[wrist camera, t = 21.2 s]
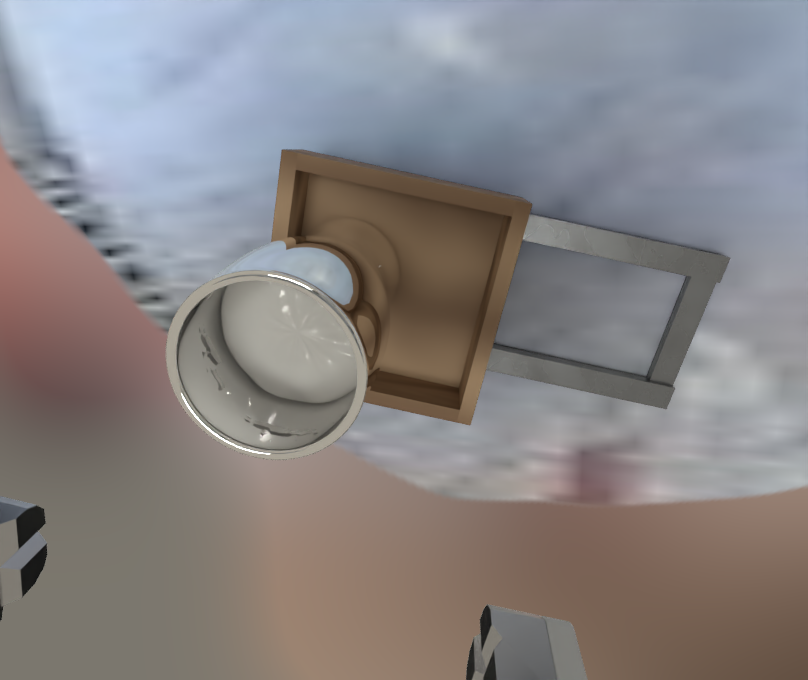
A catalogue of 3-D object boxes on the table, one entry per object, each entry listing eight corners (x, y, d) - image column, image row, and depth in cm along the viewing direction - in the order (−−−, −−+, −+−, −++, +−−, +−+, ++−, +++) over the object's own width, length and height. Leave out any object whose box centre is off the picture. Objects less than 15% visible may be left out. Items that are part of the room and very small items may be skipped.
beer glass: (334, 347, 33) (248, 497, 19) (265, 252, 31) (113, 337, 17) (430, 289, 31) (416, 406, 17) (363, 185, 29) (285, 217, 15)
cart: (311, 149, 32) (281, 149, 26) (516, 194, 32) (532, 204, 26) (286, 341, 36) (255, 378, 30) (466, 381, 36) (470, 425, 30)
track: (299, 162, 33) (290, 163, 32) (722, 254, 33) (738, 261, 31) (279, 319, 37) (270, 328, 35) (660, 402, 37) (672, 415, 35)
